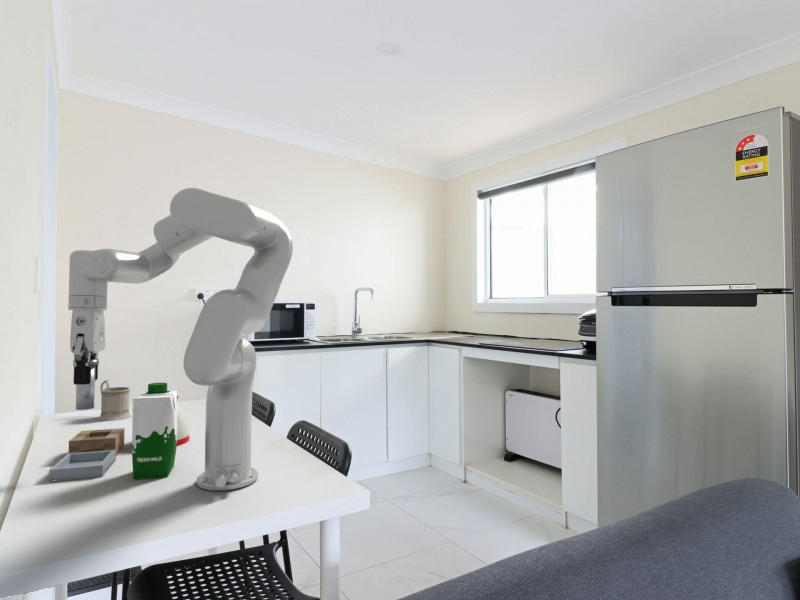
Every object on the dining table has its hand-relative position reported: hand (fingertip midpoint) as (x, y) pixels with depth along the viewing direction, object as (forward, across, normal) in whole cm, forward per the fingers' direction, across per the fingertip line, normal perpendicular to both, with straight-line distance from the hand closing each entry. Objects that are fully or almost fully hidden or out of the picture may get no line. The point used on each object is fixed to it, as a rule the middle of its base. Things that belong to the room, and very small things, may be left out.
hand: (85, 381), depth 110 cm
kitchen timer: (+21, +20, -14) cm, 32 cm away
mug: (+21, +59, +7) cm, 63 cm away
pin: (+6, 0, 0) cm, 6 cm away
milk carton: (+21, -7, -16) cm, 27 cm away
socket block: (+21, +13, 0) cm, 24 cm away
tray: (+21, 0, 0) cm, 21 cm away
